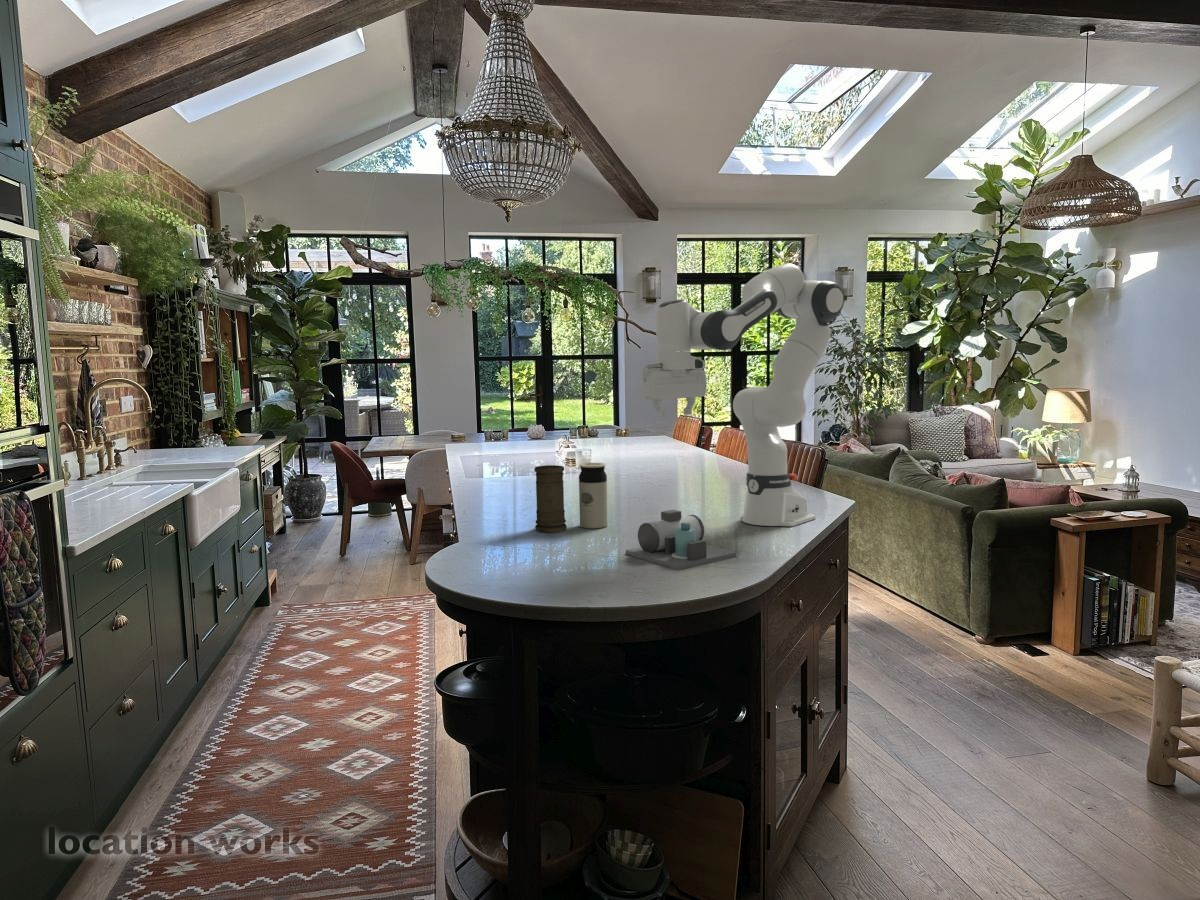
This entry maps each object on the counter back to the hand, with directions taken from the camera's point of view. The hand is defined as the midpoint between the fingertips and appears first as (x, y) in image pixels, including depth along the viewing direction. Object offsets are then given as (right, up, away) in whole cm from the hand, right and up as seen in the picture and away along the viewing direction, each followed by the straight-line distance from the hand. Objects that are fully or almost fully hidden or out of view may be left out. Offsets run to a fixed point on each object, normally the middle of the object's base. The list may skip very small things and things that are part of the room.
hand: (674, 416), depth 206 cm
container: (-33, -32, +16) cm, 49 cm away
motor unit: (0, -35, -15) cm, 37 cm away
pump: (+1, -34, -19) cm, 39 cm away
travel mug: (-21, -31, +20) cm, 43 cm away
